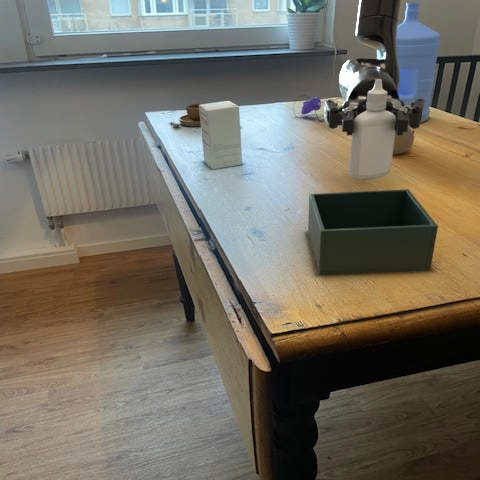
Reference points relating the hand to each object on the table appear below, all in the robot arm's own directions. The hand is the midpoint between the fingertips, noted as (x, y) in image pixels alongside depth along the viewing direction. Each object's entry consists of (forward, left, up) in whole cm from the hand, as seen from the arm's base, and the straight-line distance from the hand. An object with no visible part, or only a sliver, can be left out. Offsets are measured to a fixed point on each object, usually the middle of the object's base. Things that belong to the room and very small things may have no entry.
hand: (375, 127), depth 63 cm
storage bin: (-1, -2, -18) cm, 18 cm away
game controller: (-4, -91, -18) cm, 93 cm away
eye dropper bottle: (0, -3, -7) cm, 8 cm away
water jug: (-27, -84, -18) cm, 90 cm away
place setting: (+29, -89, -18) cm, 96 cm away
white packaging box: (+22, -50, -18) cm, 58 cm away
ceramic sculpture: (-18, -55, -18) cm, 61 cm away
